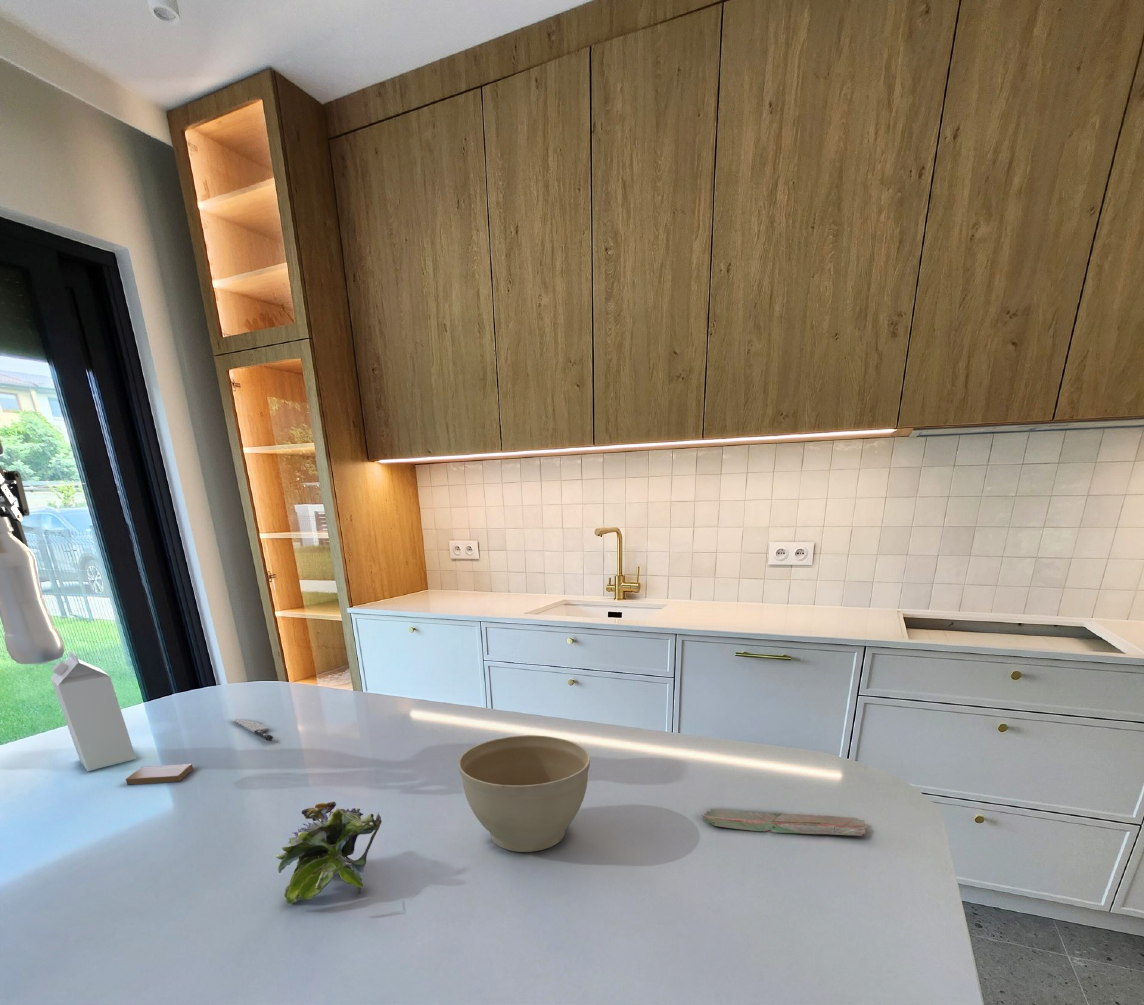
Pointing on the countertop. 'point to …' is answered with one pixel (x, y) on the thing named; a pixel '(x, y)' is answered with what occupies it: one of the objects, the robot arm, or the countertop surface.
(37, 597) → the plastic bottle
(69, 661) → the milk carton
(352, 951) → the countertop surface
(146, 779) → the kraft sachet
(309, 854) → the passion flower
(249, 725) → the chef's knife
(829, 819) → the map
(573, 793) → the planter bowl
